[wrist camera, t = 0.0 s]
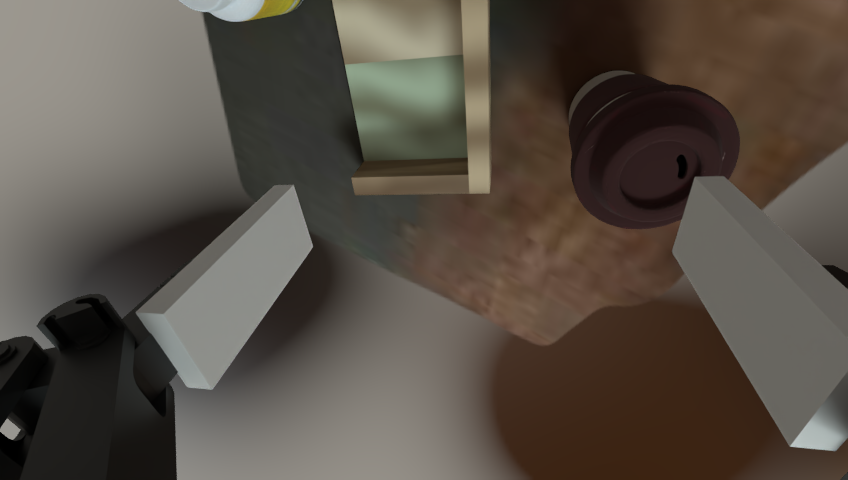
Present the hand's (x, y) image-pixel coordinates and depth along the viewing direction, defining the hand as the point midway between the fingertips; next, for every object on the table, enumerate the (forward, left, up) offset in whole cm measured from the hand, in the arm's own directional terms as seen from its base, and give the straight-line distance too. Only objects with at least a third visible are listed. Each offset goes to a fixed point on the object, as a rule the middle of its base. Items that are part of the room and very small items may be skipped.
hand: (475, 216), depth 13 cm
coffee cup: (+5, +11, -28) cm, 31 cm away
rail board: (-1, -7, -28) cm, 29 cm away
